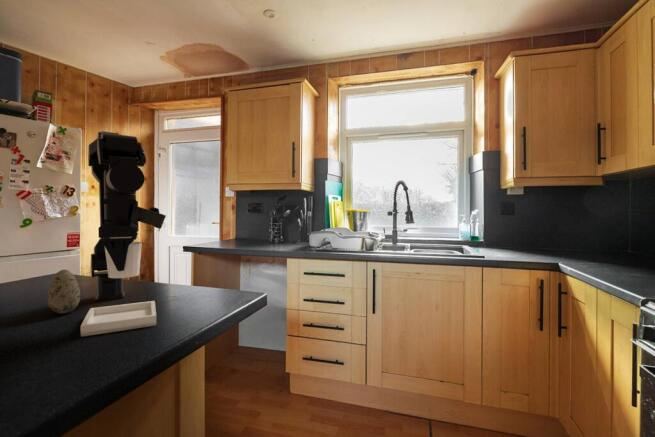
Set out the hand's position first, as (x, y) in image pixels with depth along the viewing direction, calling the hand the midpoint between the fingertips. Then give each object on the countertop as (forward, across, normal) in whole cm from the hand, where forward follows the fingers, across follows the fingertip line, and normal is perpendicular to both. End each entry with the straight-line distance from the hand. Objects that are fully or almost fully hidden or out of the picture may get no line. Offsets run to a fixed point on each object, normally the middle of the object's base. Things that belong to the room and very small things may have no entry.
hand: (121, 268), depth 71 cm
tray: (+11, 0, 0) cm, 11 cm away
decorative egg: (+12, +13, +12) cm, 21 cm away
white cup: (+2, 0, 0) cm, 2 cm away
